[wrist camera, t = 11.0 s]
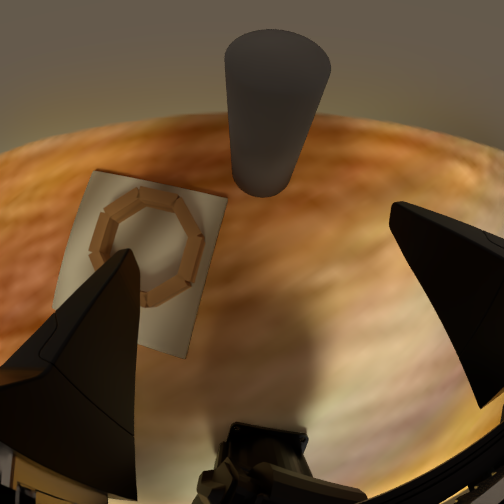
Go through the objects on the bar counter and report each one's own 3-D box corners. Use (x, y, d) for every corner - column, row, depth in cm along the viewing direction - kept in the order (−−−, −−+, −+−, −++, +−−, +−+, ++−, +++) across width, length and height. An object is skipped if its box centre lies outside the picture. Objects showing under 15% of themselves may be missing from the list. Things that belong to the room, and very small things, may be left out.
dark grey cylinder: (296, 153, 24) (334, 43, 12) (284, 204, 24) (324, 108, 11) (241, 139, 25) (241, 23, 12) (225, 189, 24) (209, 82, 11)
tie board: (227, 200, 24) (226, 189, 21) (186, 357, 21) (179, 364, 19) (95, 172, 24) (83, 161, 21) (54, 308, 21) (39, 307, 19)
